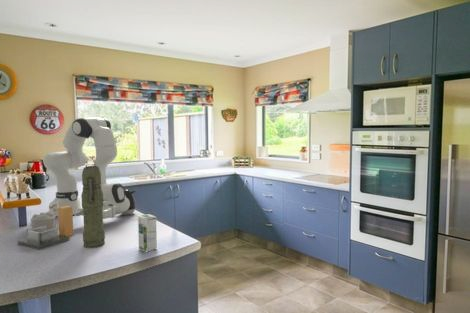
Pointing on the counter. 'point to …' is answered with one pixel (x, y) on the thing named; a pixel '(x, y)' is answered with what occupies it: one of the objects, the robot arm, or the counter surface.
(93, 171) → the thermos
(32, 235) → the grey rail base plate
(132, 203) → the black kettle
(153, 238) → the syrup box
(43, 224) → the lumpy-topped squat cylinder
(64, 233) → the tall orange pillar
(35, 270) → the counter surface
